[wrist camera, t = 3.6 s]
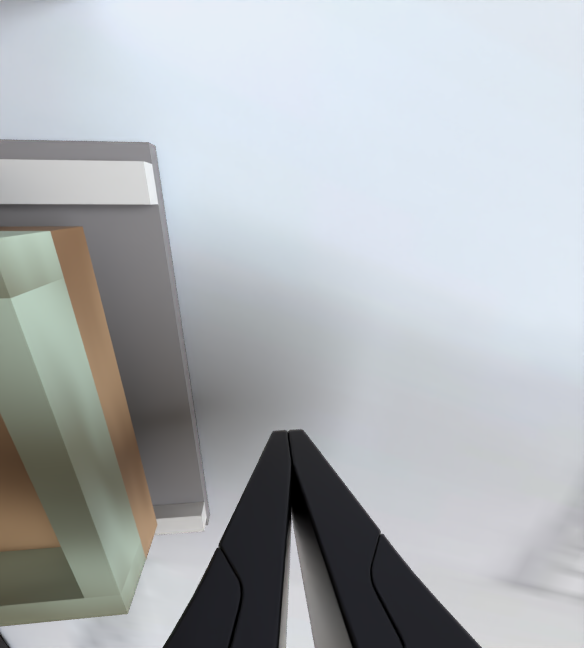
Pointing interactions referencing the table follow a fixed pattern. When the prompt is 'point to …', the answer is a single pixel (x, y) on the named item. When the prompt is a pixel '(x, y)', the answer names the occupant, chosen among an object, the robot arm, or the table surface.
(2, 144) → the track
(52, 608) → the cart
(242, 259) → the table surface
